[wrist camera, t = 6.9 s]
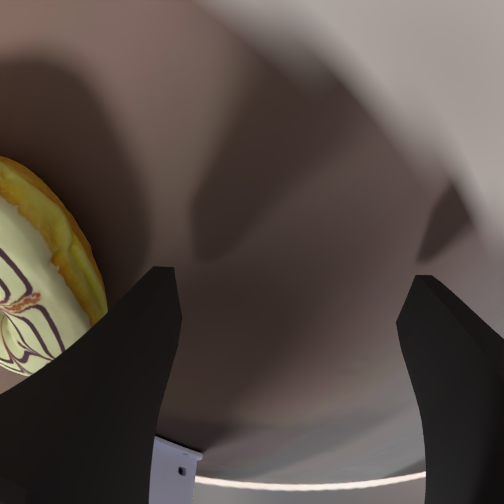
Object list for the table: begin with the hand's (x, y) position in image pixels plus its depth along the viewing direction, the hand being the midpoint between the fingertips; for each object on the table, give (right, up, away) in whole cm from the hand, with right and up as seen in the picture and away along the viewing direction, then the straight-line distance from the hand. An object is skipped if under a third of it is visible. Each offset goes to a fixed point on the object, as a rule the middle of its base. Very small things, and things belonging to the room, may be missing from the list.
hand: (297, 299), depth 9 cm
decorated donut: (-11, +1, +2) cm, 12 cm away
